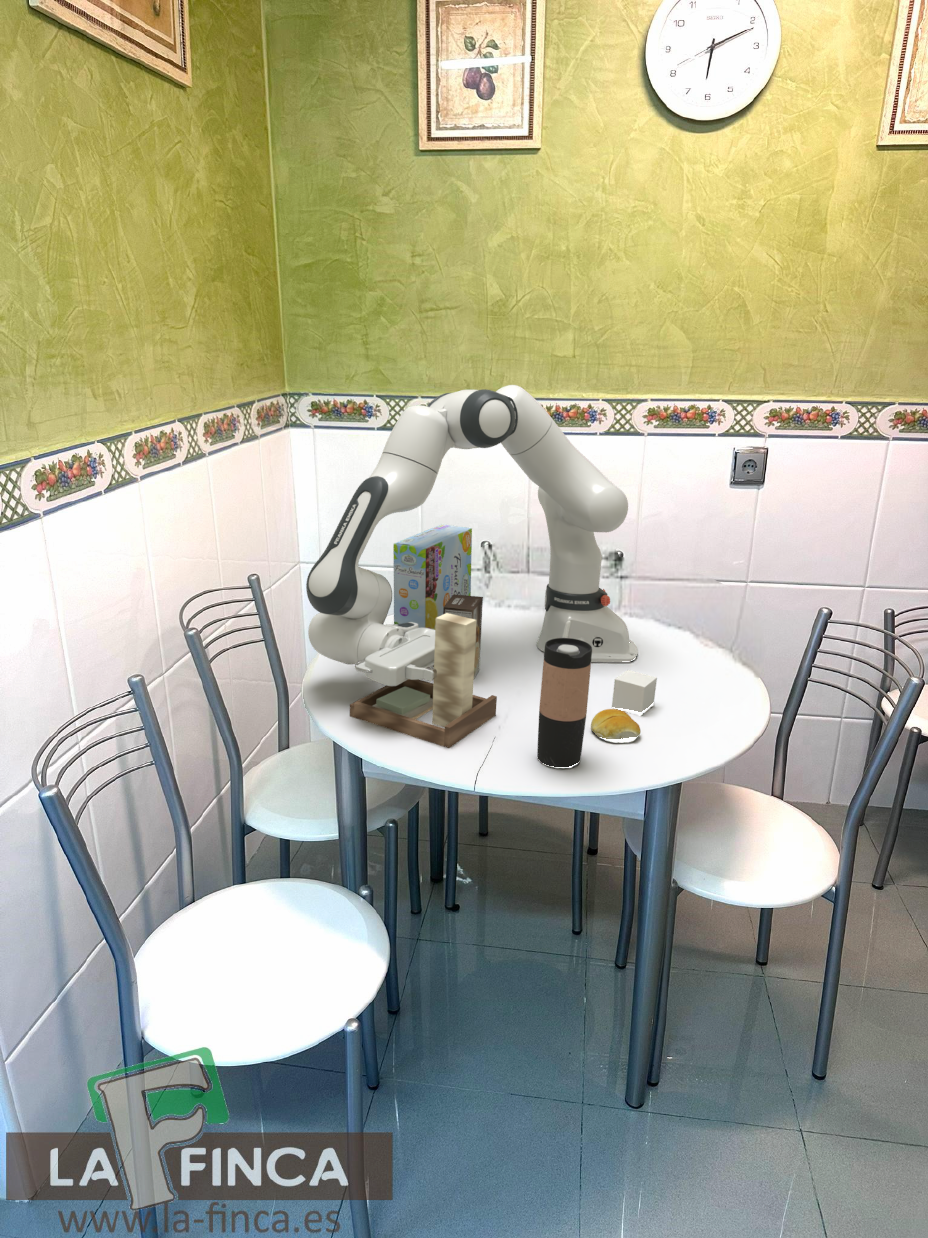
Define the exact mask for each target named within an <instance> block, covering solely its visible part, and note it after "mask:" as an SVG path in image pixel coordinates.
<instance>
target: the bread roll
mask: <svg viewBox="0 0 928 1238" xmlns="http://www.w3.org/2000/svg"><path fill="white" fill-rule="evenodd" d="M590 729H591V732H592V731H593V732H594V733H595V736H596V735H597V736H598V737H602V738H606V739H621V738H622V739H623V738H629V737H637V736H638V735H639V736H640V734H641V727H640V725H639V723H637V721H635V720H634V719H633V718H632V717H631V716H630V715H629V714H628V712H625V711H621V710H618V709H614V708H607V709H603V710H601V711H599V712H598V713H596V714H595V715H594V717H592V720H591V723H590ZM593 732H592V733H593ZM594 733H593V734H594ZM597 736H596V737H597ZM639 736H638V737H639ZM598 737H597V738H598Z"/></svg>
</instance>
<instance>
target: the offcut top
mask: <svg viewBox="0 0 928 1238" xmlns="http://www.w3.org/2000/svg"><path fill="white" fill-rule="evenodd" d="M429 701H430V695H429V694H426V693H423V692H420V691H417V690H414V689H411V688H408V687H406V686H405V687H402V688H400V689H398V690H396V691H394V692H391V693H389V694H387V695H385V696H383V697H380V698H378V699H377V702H376V705H377V706H380V707H382V708H385V709H388V710H390V711H393V712H396V713H398V714H401V715H402V714H404V713H406V712H408V711H410V710H412V709H415V708H417V707H419V706H421V705H423V704H425V703H427V702H429Z"/></svg>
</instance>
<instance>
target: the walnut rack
mask: <svg viewBox="0 0 928 1238" xmlns="http://www.w3.org/2000/svg"><path fill="white" fill-rule="evenodd" d="M433 683H434V682H433ZM433 683H432V682H431V681H427V680H423V679H417V680H411V679H408V680H406V681H404V682H402V683H401V684H399V685H397V686H386V685H384V686H382V687H380V688H378V689H376V690H375V691H372V692H371V693H369V694H367V695H365V696H364V697H361V698H360V699H358V700H356V701H354V702H352V703H350V704H349V717H352V718H355V719H358V720H360V721H364V722H367V723H371V724H373V725H376V726H379V727H382V728H385V729H388V730H391V731H394V732H397V733H400V734H403V735H407V736H410V737H413V738H417V739H419V740H422V741H424V742H425V741H426V742H428V743H431V744H434V745H435V744H436V745H438V746H441V747H444V748H447V749H451V748H452V747H453V746H454V745H457V743H459V742H460V741H462V740H463V739H464V738H466V737H467V736H468V735H470V734H471V733H473V732H474V731H475V730H477V729H479V728H480V727H482V725H483V726H484V724H486V723H487V722H489V721H490V720H491V719H492V718H494V717H496V715H497V702H498V701H497V700H498V696H496V695H494V694H493V695H490V696H488V697H487V698H485V697H482V696H479V695H475V694H473V700H472V709H470V710H469V711H467V712H466V713H464V714H463V715H461V716H460V717H458V718H457V719H455V720H454V721H452V722H451V723H449V724H448V725H446V726H445V727H442V726H439V725H435V724H432V723H428V722H424V721H421V720H419V719H416V720H415V719H412V718H409V717H406V716H402V715H399V714H396V713H393V712H390V711H386V710H383V709H380V708H377V707H374V706H373V705H375V704H376V702H377V699H378V698H380V697H383V696H385V695H387V694H389V693H391V692H394V691H396V690H398V689H400V688H402V687H405V686H406V687H408V688H411V689H414V690H417V691H420V692H423V693H426V694H429V695H430V698H432V699H433Z"/></svg>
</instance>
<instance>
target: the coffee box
mask: <svg viewBox="0 0 928 1238" xmlns="http://www.w3.org/2000/svg"><path fill="white" fill-rule="evenodd" d="M483 601H484V597H483V596H479V595H478V596H474V595H471V596H467V595H455V594H454V595H452V597H451V598H450V599H449V601H448V602H447V603H446V605H445V606H444V607H443V614H446V613H449V614H453V615H458V616H462V617H466V618H471V619H475V620H477V621H476V641H475V661H474V680H475V679H476V677H477V675H478V673H479V671H480V665H481V664H480V663H481V662H480V661H481V660H480V659H481V643H482V642H481V641H482V620H483Z"/></svg>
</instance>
